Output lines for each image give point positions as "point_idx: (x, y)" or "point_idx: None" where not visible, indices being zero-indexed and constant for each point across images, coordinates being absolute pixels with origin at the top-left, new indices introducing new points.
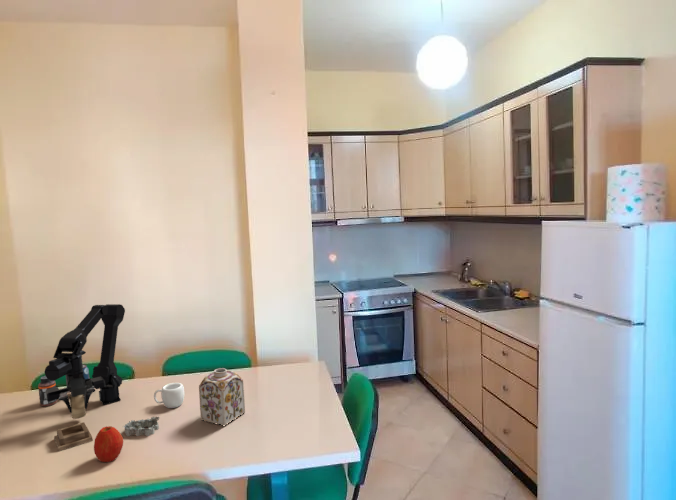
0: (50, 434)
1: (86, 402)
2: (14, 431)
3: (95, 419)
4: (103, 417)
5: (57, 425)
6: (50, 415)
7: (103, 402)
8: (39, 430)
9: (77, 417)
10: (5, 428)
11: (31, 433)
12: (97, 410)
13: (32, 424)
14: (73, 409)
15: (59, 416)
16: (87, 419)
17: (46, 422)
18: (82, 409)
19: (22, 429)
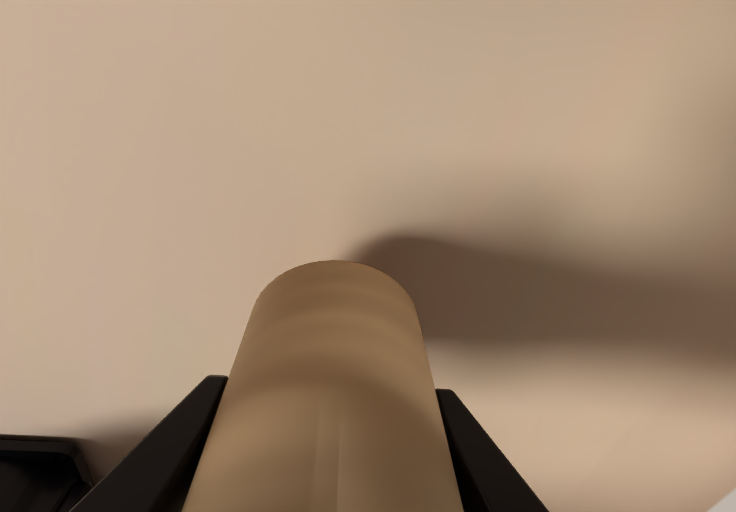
0: (674, 205)
1: (139, 486)
2: (730, 450)
3: (168, 204)
4: (63, 183)
5: (515, 348)
6: None
7: (70, 475)
8: (651, 359)
9: (374, 278)
10: (713, 506)
11: (718, 352)
12: (136, 390)
13: (604, 468)
14: (432, 411)
15: None
16: (254, 273)
17: (534, 443)
18: (276, 353)
19: (687, 445)
